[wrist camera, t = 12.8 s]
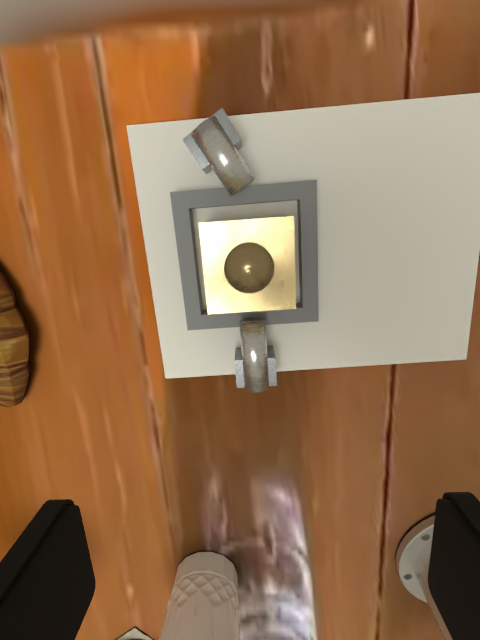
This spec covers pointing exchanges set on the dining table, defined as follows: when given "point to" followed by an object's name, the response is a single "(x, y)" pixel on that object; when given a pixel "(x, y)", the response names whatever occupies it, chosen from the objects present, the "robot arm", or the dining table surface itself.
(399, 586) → the dining table surface
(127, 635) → the condiment
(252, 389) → the shaft
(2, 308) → the croissant
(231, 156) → the shaft
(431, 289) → the board
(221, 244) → the block
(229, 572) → the white cup
